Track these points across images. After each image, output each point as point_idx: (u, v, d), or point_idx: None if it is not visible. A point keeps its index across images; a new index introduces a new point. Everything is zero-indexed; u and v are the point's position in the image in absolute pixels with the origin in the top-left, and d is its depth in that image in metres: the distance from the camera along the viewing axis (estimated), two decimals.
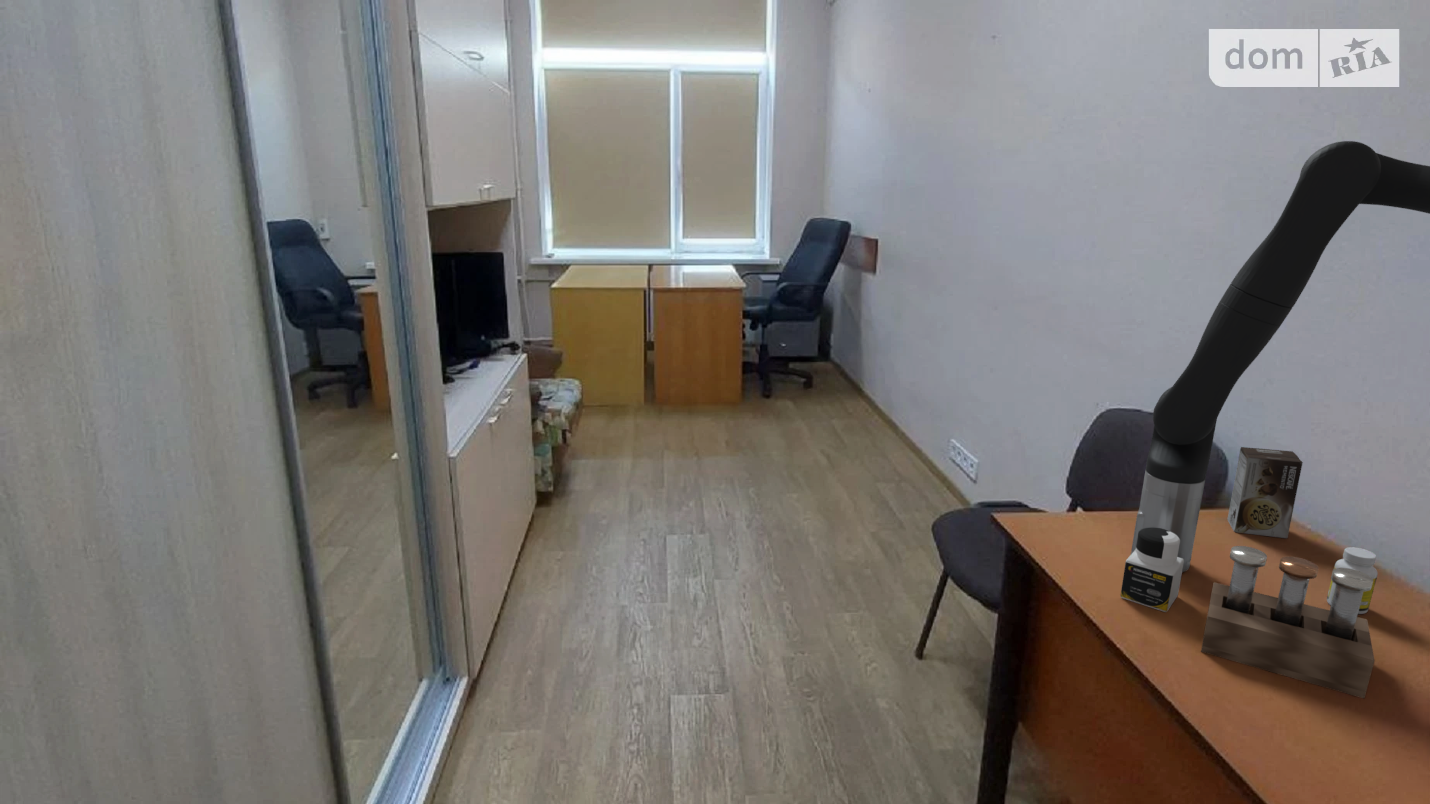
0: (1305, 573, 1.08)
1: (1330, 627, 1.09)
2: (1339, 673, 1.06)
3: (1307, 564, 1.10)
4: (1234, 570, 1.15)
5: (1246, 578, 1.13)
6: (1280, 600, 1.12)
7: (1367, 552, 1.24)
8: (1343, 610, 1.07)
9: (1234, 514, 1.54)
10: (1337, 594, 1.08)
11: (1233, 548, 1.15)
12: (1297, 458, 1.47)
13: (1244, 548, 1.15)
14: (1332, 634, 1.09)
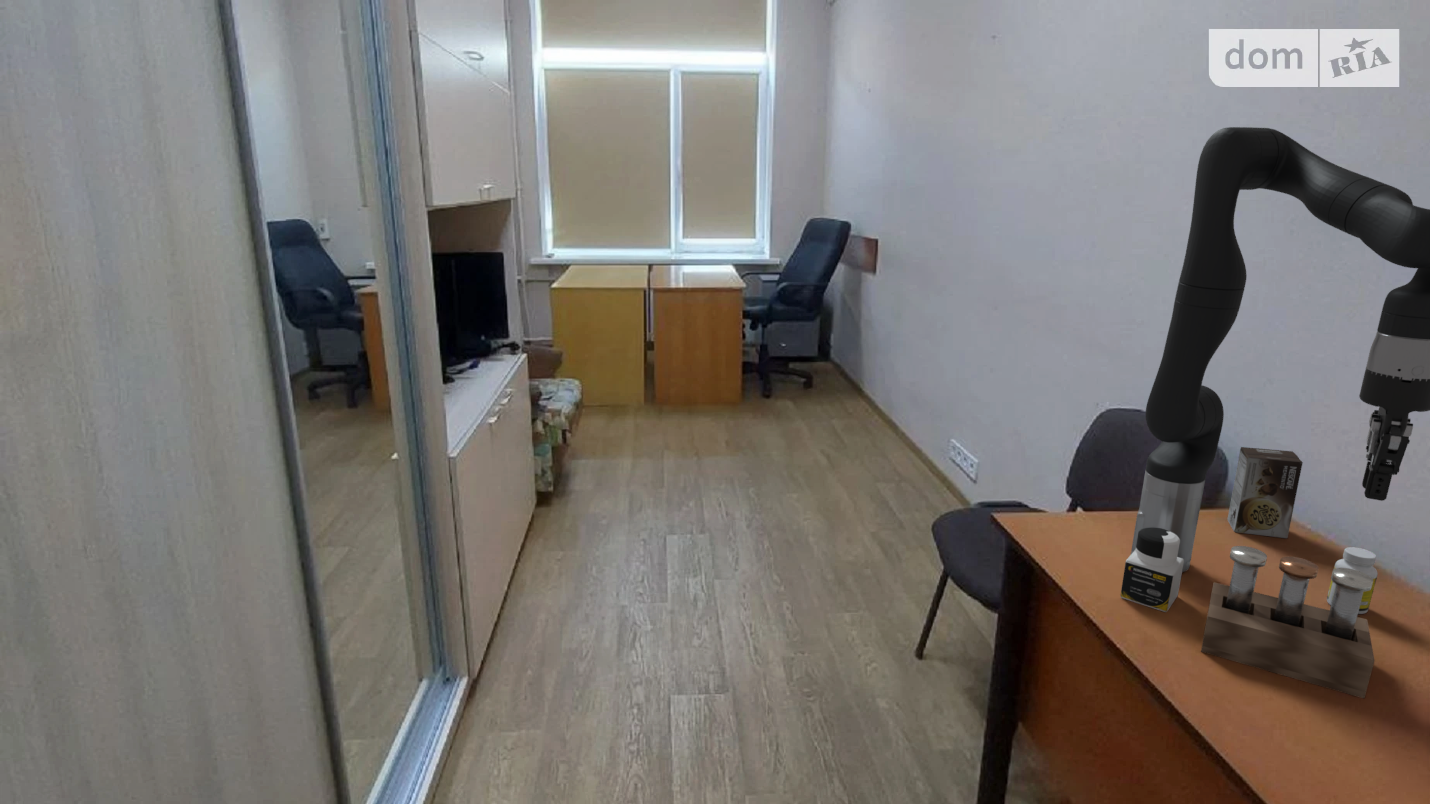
0: (1305, 573, 1.08)
1: (1330, 627, 1.09)
2: (1339, 673, 1.06)
3: (1307, 564, 1.10)
4: (1234, 570, 1.15)
5: (1246, 578, 1.13)
6: (1280, 600, 1.12)
7: (1367, 552, 1.24)
8: (1343, 610, 1.07)
9: (1234, 514, 1.54)
10: (1337, 594, 1.08)
11: (1233, 548, 1.15)
12: (1297, 458, 1.47)
13: (1244, 548, 1.15)
14: (1332, 634, 1.09)
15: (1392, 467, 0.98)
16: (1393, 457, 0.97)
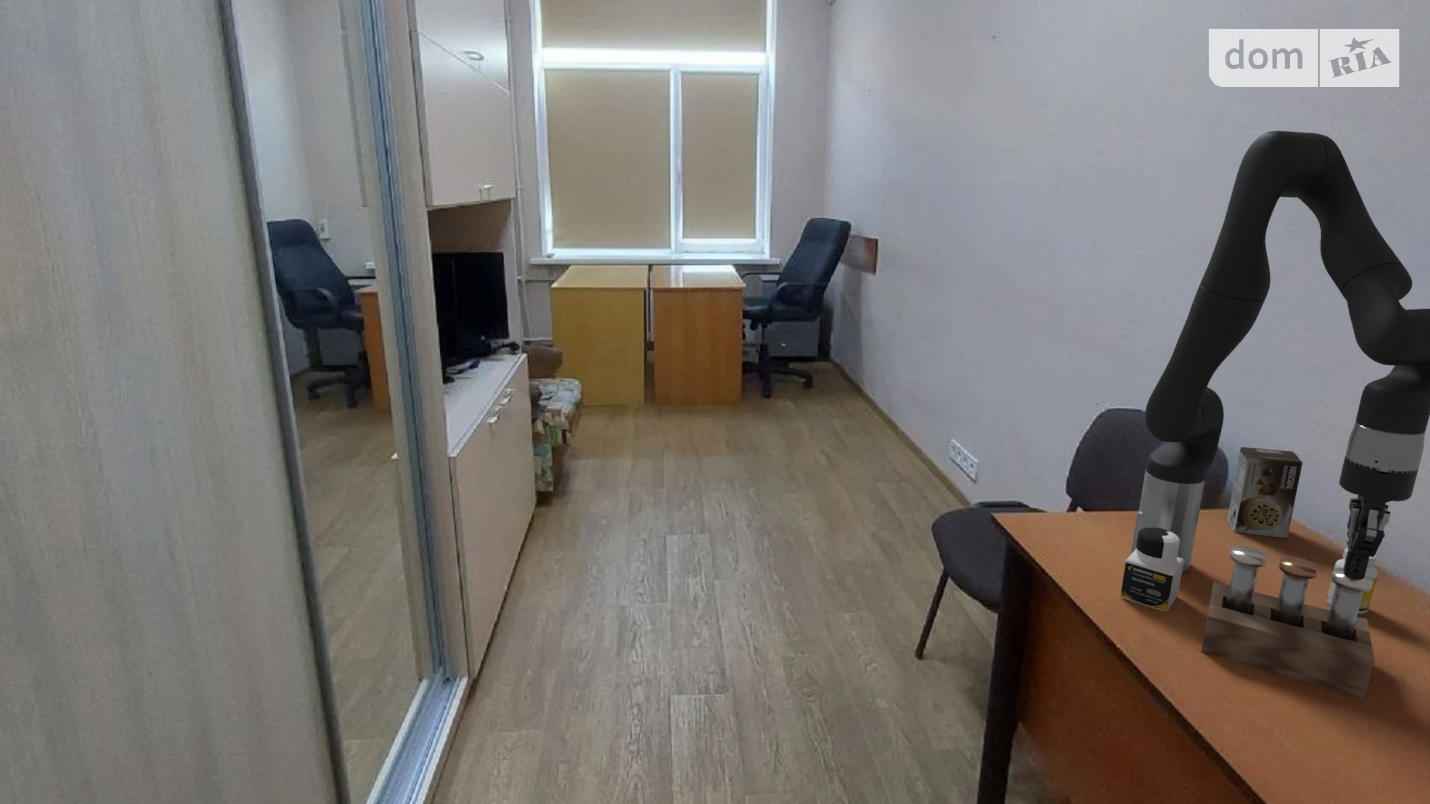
0: (1305, 573, 1.08)
1: (1330, 627, 1.09)
2: (1339, 673, 1.06)
3: (1307, 564, 1.10)
4: (1234, 570, 1.15)
5: (1246, 578, 1.13)
6: (1280, 600, 1.12)
7: None
8: (1343, 610, 1.07)
9: (1234, 514, 1.54)
10: (1337, 594, 1.08)
11: (1233, 548, 1.15)
12: (1297, 458, 1.47)
13: (1244, 548, 1.15)
14: (1332, 634, 1.09)
15: (1369, 550, 1.03)
16: (1369, 546, 1.01)
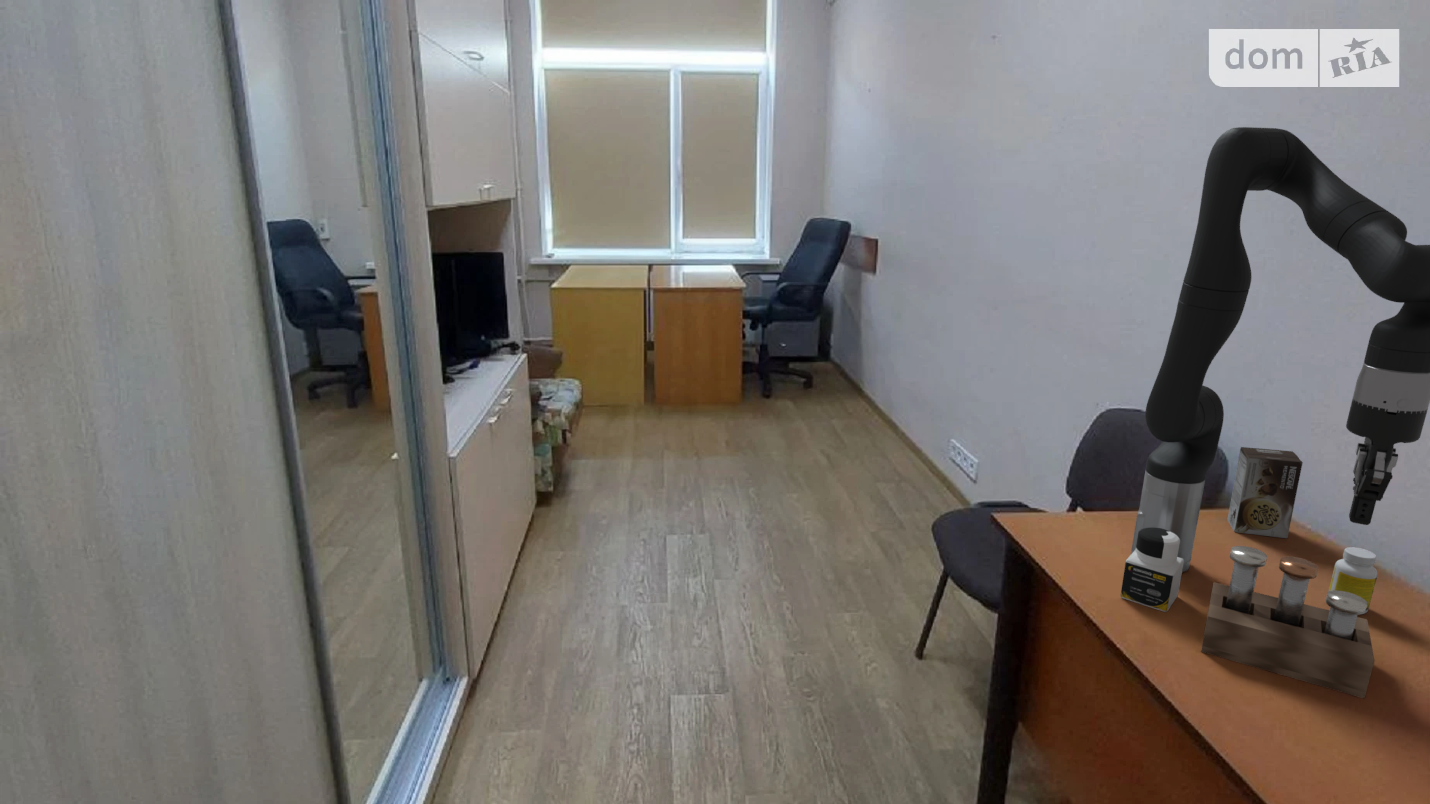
0: (1305, 573, 1.08)
1: None
2: (1339, 673, 1.06)
3: (1307, 564, 1.10)
4: (1234, 570, 1.15)
5: (1246, 578, 1.13)
6: (1280, 600, 1.12)
7: (1367, 552, 1.24)
8: (1338, 633, 1.08)
9: (1234, 514, 1.54)
10: (1332, 617, 1.09)
11: (1233, 548, 1.15)
12: (1297, 458, 1.47)
13: (1244, 548, 1.15)
14: None
15: (1376, 493, 1.01)
16: (1376, 489, 1.00)
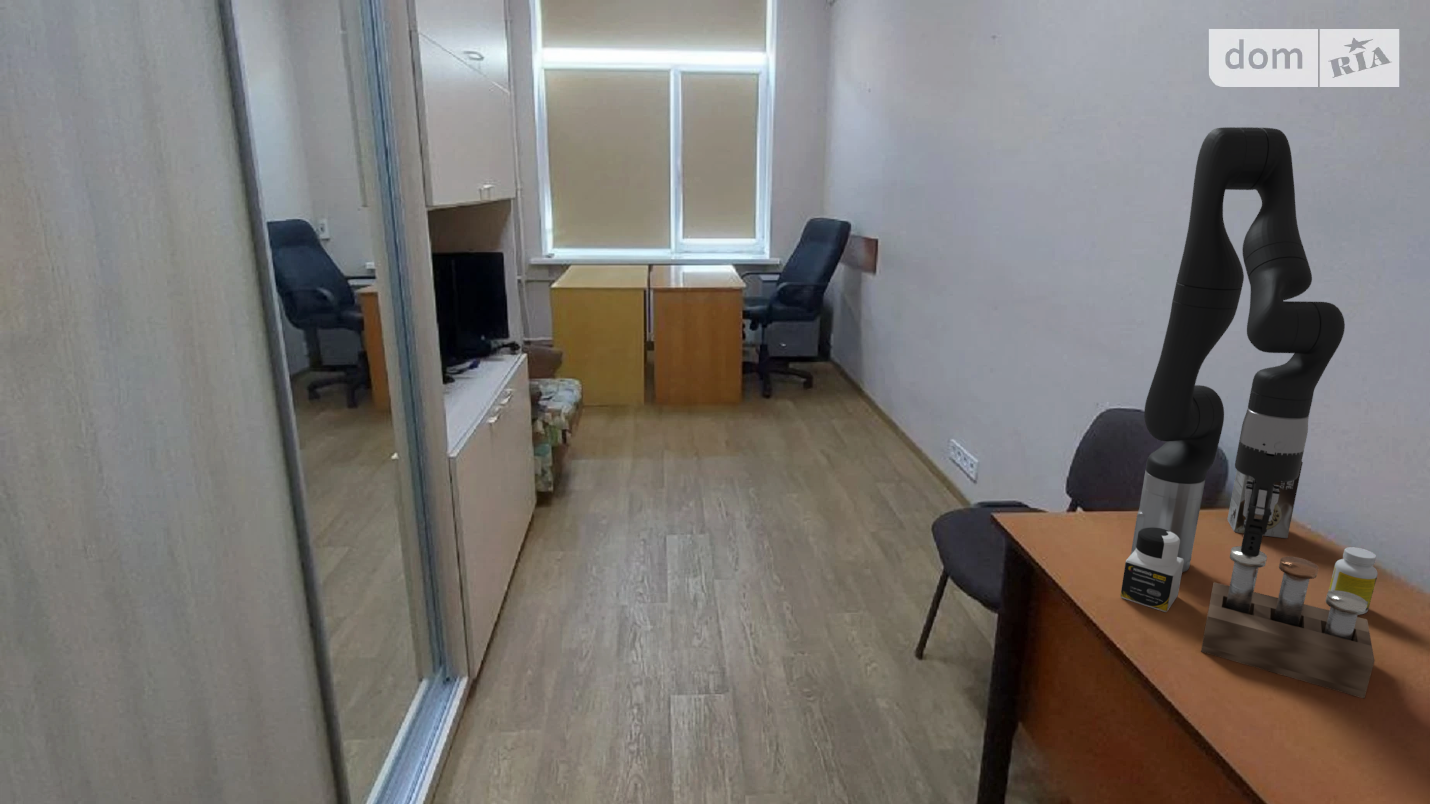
0: (1305, 573, 1.08)
1: None
2: (1339, 673, 1.06)
3: (1307, 564, 1.10)
4: (1234, 570, 1.15)
5: (1246, 578, 1.13)
6: (1280, 600, 1.12)
7: (1367, 552, 1.24)
8: (1338, 633, 1.08)
9: (1234, 514, 1.54)
10: (1332, 617, 1.09)
11: (1233, 548, 1.15)
12: None
13: None
14: None
15: (1260, 528, 1.09)
16: (1259, 524, 1.08)
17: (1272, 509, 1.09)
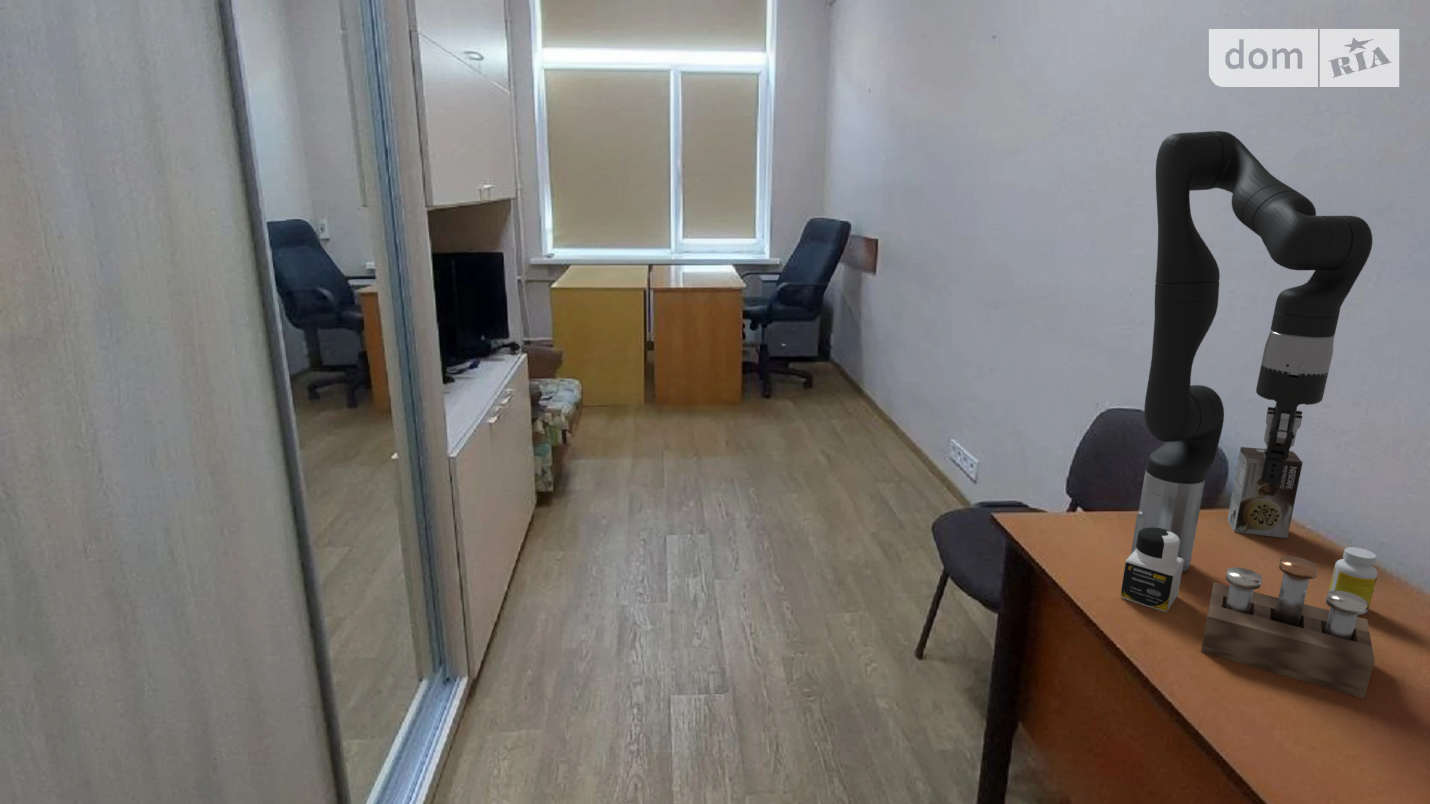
0: (1305, 573, 1.08)
1: None
2: (1339, 673, 1.06)
3: (1307, 564, 1.10)
4: (1230, 592, 1.16)
5: (1242, 599, 1.14)
6: (1280, 600, 1.12)
7: (1367, 552, 1.24)
8: (1338, 633, 1.08)
9: (1234, 514, 1.54)
10: (1332, 617, 1.09)
11: (1229, 570, 1.16)
12: (1297, 458, 1.47)
13: (1239, 569, 1.16)
14: None
15: (1282, 453, 1.06)
16: (1281, 448, 1.05)
17: (1294, 434, 1.06)
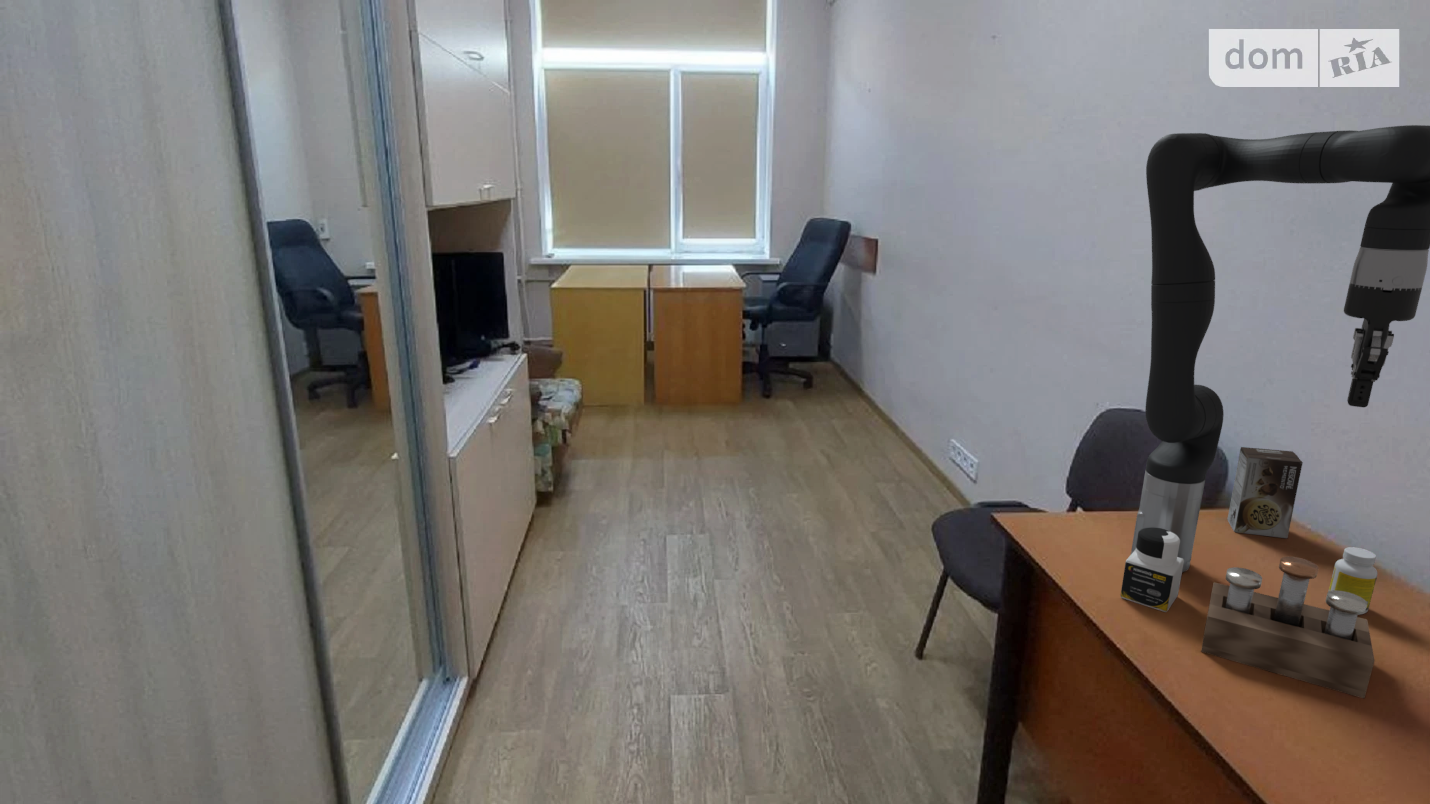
0: (1305, 573, 1.08)
1: None
2: (1339, 673, 1.06)
3: (1307, 564, 1.10)
4: (1230, 592, 1.16)
5: (1242, 599, 1.14)
6: (1280, 600, 1.12)
7: (1367, 552, 1.24)
8: (1338, 633, 1.08)
9: (1234, 514, 1.54)
10: (1332, 617, 1.09)
11: (1229, 570, 1.16)
12: (1297, 458, 1.47)
13: (1239, 569, 1.16)
14: None
15: (1373, 373, 1.04)
16: (1373, 367, 1.03)
17: None
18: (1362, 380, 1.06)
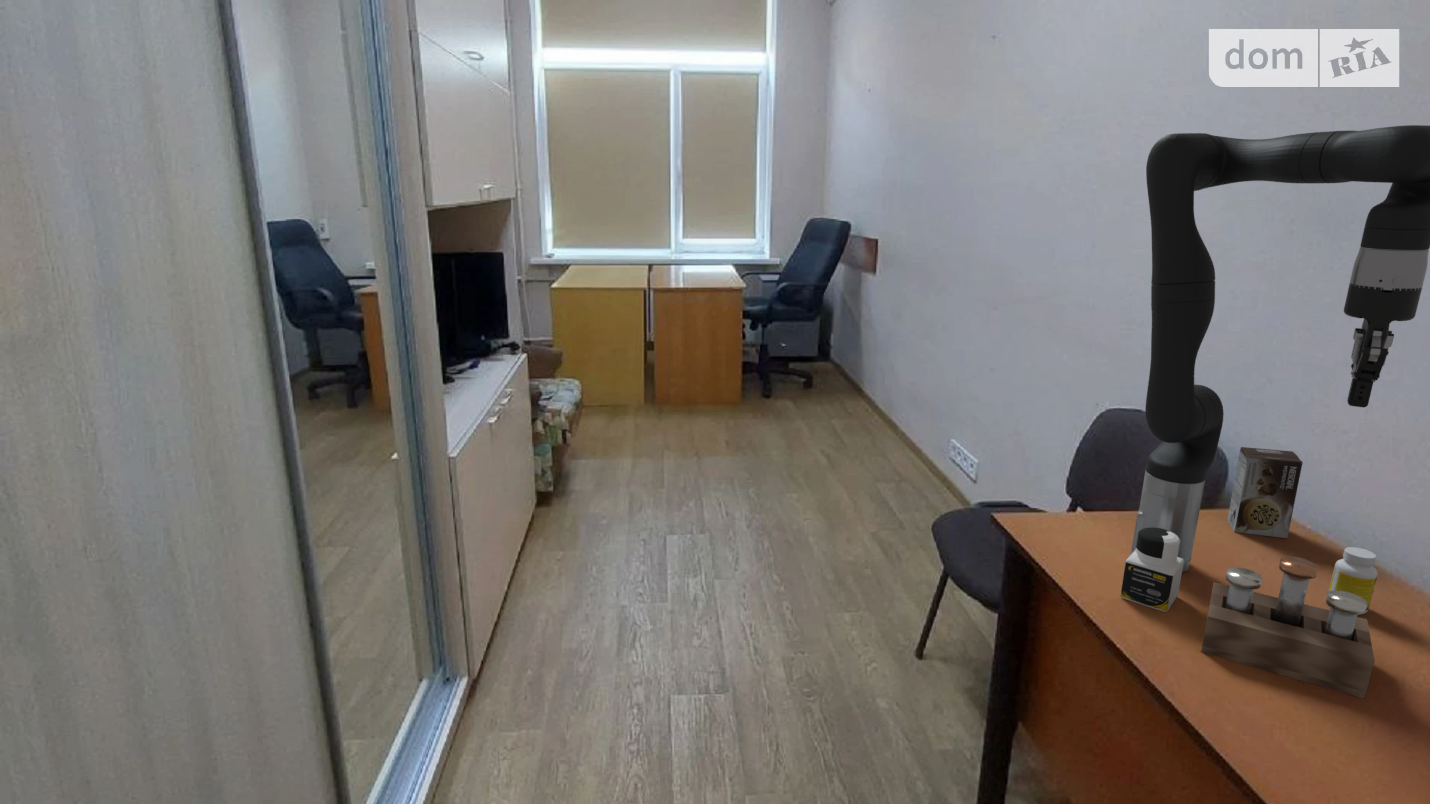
0: (1305, 573, 1.08)
1: None
2: (1339, 673, 1.06)
3: (1307, 564, 1.10)
4: (1230, 592, 1.16)
5: (1242, 599, 1.14)
6: (1280, 600, 1.12)
7: (1367, 552, 1.24)
8: (1338, 633, 1.08)
9: (1234, 514, 1.54)
10: (1332, 617, 1.09)
11: (1229, 570, 1.16)
12: (1297, 458, 1.47)
13: (1239, 569, 1.16)
14: None
15: (1373, 373, 1.04)
16: (1373, 367, 1.03)
17: None
18: (1362, 380, 1.06)
